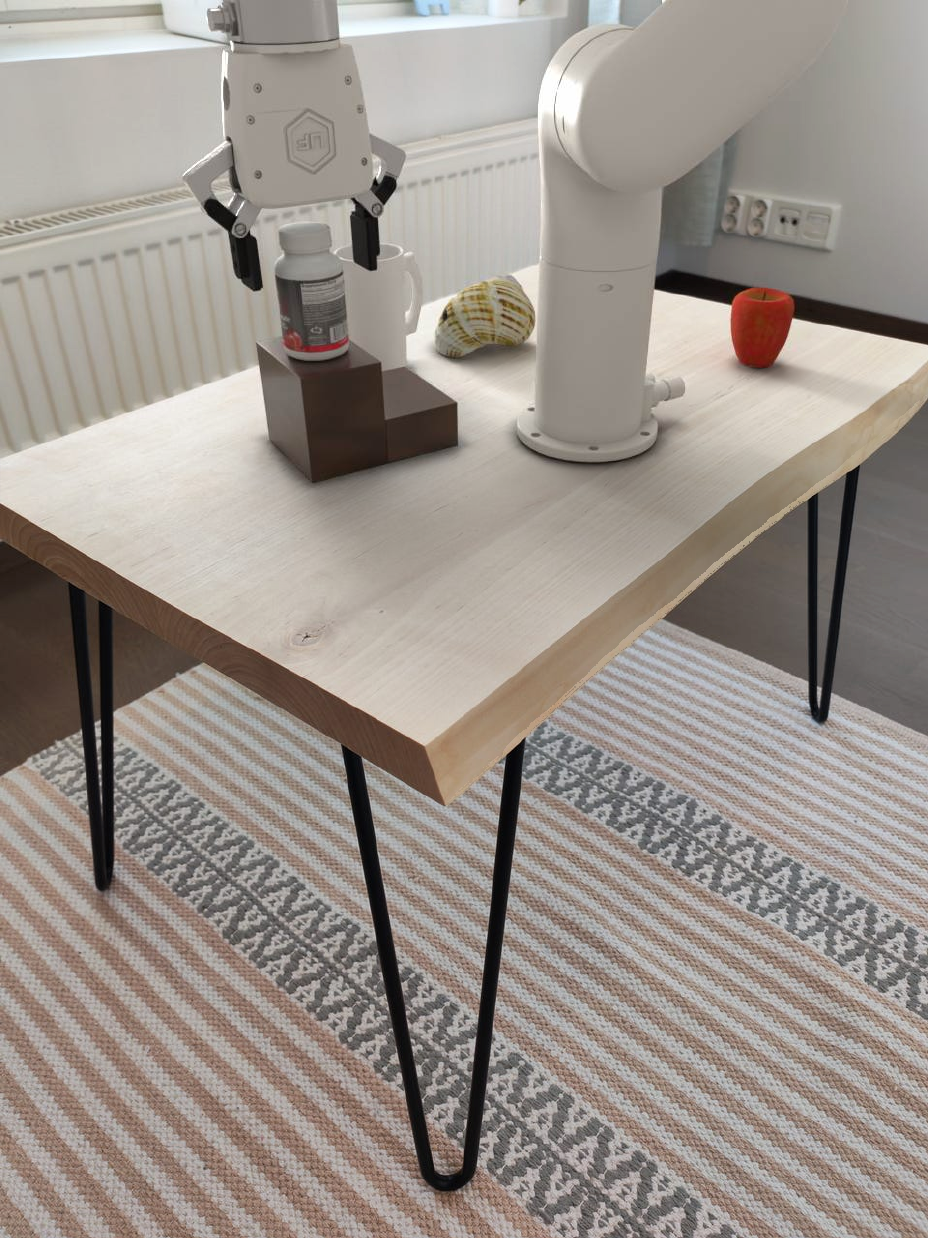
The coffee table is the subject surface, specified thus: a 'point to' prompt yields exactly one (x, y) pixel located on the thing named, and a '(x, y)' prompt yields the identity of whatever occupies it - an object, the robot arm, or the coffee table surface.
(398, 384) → the step shelf
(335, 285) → the pill bottle
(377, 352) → the mug
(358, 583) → the coffee table surface
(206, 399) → the coffee table surface
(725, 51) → the robot arm
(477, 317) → the seashell
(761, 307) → the apple
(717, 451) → the coffee table surface
